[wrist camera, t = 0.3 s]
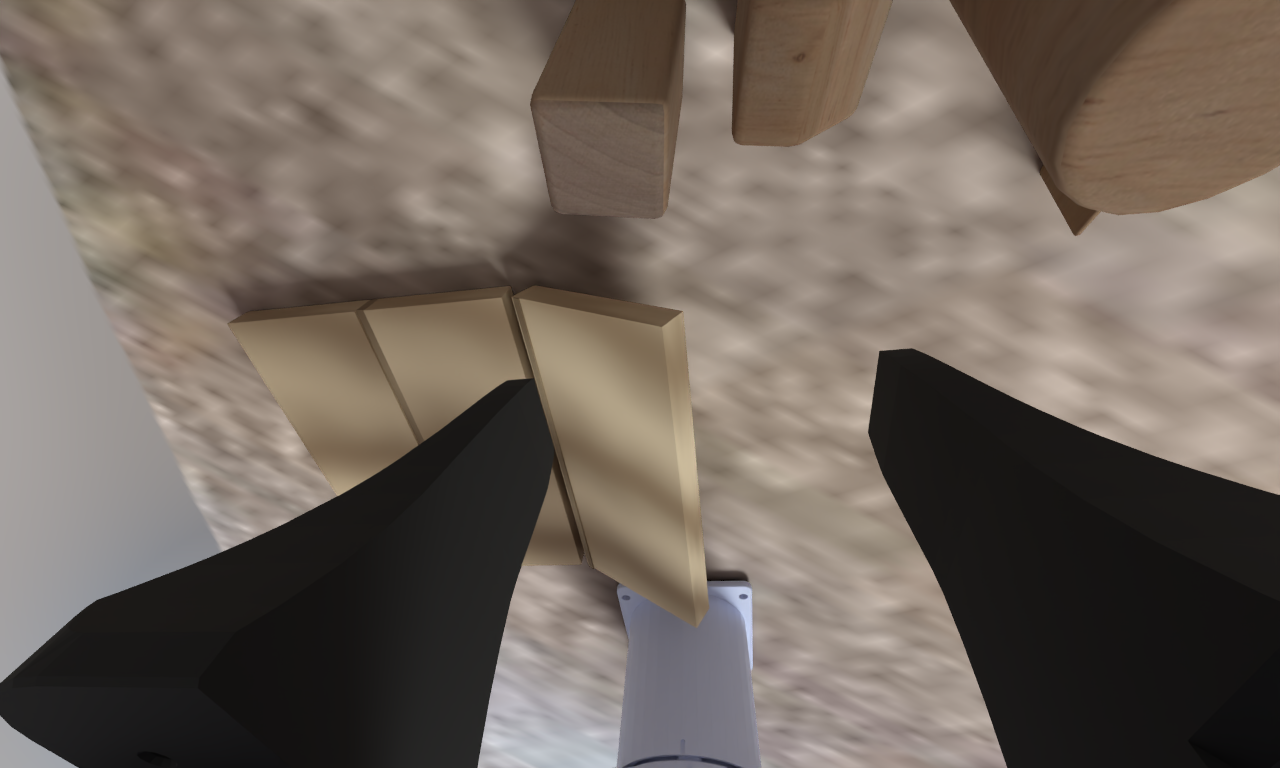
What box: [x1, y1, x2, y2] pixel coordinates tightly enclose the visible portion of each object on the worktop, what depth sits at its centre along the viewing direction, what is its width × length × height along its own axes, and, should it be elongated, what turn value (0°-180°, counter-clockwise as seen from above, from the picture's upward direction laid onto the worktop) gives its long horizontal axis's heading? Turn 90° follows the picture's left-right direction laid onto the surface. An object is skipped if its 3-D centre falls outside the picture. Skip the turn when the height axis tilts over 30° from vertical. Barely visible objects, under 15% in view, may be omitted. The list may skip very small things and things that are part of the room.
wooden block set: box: [530, 0, 1280, 236], centre depth 11 cm, size 18×9×10 cm, turn 89°
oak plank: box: [512, 285, 709, 628], centre depth 21 cm, size 16×7×1 cm
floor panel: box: [228, 286, 584, 566], centre depth 24 cm, size 16×12×1 cm
